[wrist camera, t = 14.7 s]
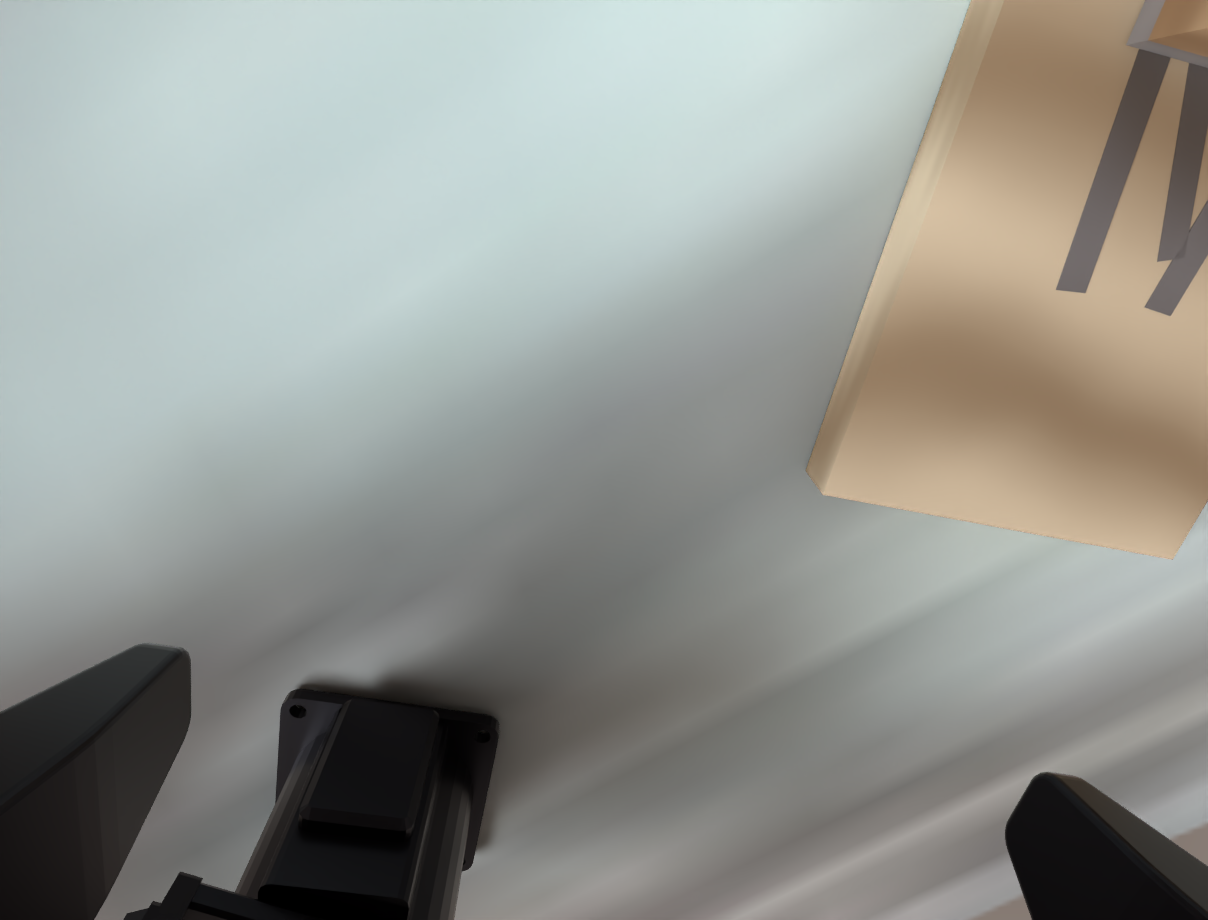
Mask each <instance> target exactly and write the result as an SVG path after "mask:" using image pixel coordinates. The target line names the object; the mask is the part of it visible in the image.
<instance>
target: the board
mask: <svg viewBox="0 0 1208 920" xmlns="http://www.w3.org/2000/svg"><path fill="white" fill-rule="evenodd" d="M1144 2H1145V0H971V2H970V5H969V8H968V11H967V13H966V16H965V19H964V22H963V25H962V28H961V30H960V33H959V36H958V39H957V42H956V45H955V47H954V50H953V53H952V56H951V59H950V62H949V65H948V67H947V70H946V73H945V76H944V79H943V82H942V84H941V87H940V90H939V93H938V96H937V99H936V101H935V104H934V107H933V110H932V113H931V116H930V119H929V121H928V124H927V127H926V130H925V133H924V136H923V138H922V141H921V144H920V147H919V150H918V153H917V155H916V158H915V161H914V164H913V167H912V170H911V173H910V175H909V178H908V181H907V184H906V187H905V190H904V192H903V195H902V198H901V201H900V204H899V207H898V209H897V212H896V215H895V218H894V221H893V224H892V227H891V229H890V232H889V235H888V238H887V241H886V244H885V246H884V249H883V252H882V255H881V258H880V261H879V264H878V266H877V269H876V272H875V275H874V278H873V281H872V283H871V286H870V289H869V292H868V295H867V298H866V300H865V303H864V306H863V309H862V312H861V315H860V318H859V320H858V323H857V326H856V329H855V332H854V335H853V337H852V340H851V343H850V346H849V349H848V352H847V354H846V357H845V360H844V363H843V366H842V369H841V372H840V374H839V377H838V380H837V383H836V386H835V389H834V391H833V394H832V397H831V400H830V403H829V406H828V408H827V411H826V414H825V417H824V420H823V423H822V426H821V428H820V431H819V434H818V437H817V440H816V443H815V445H814V448H813V451H812V454H811V457H810V460H809V462H808V465H807V468H806V472H807V474H808V475H809V476H810V478H811V479H812V480H813V482H814V483H815V485H816V486H817V487H818V489H819V490H820V491H821V493H822V494H823V495H827V496H832V497H838V498H843V499H848V500H854V501H859V502H865V503H870V504H875V505H881V506H886V507H891V508H897V509H902V510H908V511H913V512H918V513H924V514H929V515H935V516H940V517H945V518H951V519H956V520H962V521H967V522H972V523H978V524H983V525H988V526H994V527H999V528H1005V529H1010V530H1015V531H1021V532H1026V533H1032V534H1037V535H1042V536H1048V537H1053V538H1058V539H1064V540H1069V541H1075V542H1080V543H1085V544H1091V545H1096V546H1102V547H1107V548H1112V549H1118V550H1123V551H1128V552H1134V553H1139V554H1145V555H1150V556H1155V557H1161V558H1166V559H1172V560H1173V558H1174V556H1175V555H1176V553H1177V551H1178V550H1179V548H1180V546H1181V545H1182V543H1183V541H1184V540H1185V538H1186V536H1187V535H1188V533H1189V531H1190V530H1191V528H1192V526H1193V525H1194V523H1195V521H1196V519H1197V518H1198V516H1199V514H1200V513H1201V511H1202V509H1203V508H1204V506H1205V504H1206V503H1207V501H1208V68H1206V67H1202V66H1199V65H1195V64H1192V63H1188V62H1185V61H1181V60H1177V59H1174V58H1170V57H1167V56H1163V55H1160V54H1156V53H1153V52H1149V51H1145V50H1142V49H1138V48H1135V47H1131V46H1128V45H1126V44H1127V41H1128V39H1129V37H1130V34H1131V32H1132V30H1133V27H1134V25H1135V23H1136V20H1137V18H1138V16H1139V13H1140V11H1141V9H1142V7H1143V4H1144Z"/></svg>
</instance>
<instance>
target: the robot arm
mask: <svg viewBox="0 0 1208 920" xmlns="http://www.w3.org/2000/svg"><path fill="white" fill-rule="evenodd" d="M296 705H301V706H303V707H304V708H305V709H301V708H298V707H297V706H296ZM190 718H191V660H190V656H189V653H188V652H187V651H186V650H185V649H183V648H181V647H174V646H167V645H160V644H153V643H142V644H138V645H135V646H133V647H131V648H129V649H127V650H125V651H123V652H121V653H119V654H117V655H115V656H113V657H111V658H109V659H107V660H104V661H102V662H100V663H98V664H96V665H94V666H92V667H90V668H88V669H86V670H84V671H82V672H80V673H78V674H76V675H74V676H72V677H70V678H68V679H66V680H64V681H62V682H60V683H58V684H56V685H54V686H52V687H50V688H48V689H46V690H44V691H42V692H39V693H37V694H35V695H33V696H31V697H29V698H27V699H25V700H23V701H21V702H19V703H17V704H15V705H13V706H11V707H9V708H7V709H5V710H3V711H1V712H0V920H94V919H95V917H96V915H97V913H98V912H99V910H100V908H101V907H102V905H103V903H104V901H105V900H106V898H107V896H108V894H109V892H110V890H111V888H112V886H113V884H114V882H115V880H116V878H117V876H118V875H119V873H120V871H121V869H122V866H123V864H124V862H125V860H126V858H127V856H128V854H129V852H130V850H131V848H132V846H133V844H134V842H135V840H136V838H137V836H138V834H139V832H140V830H141V827H142V825H143V823H144V821H145V819H146V817H147V815H148V813H149V811H150V809H151V807H152V805H153V803H154V801H155V799H156V797H157V795H158V793H159V791H160V788H161V786H162V784H163V782H164V780H165V778H166V776H167V774H168V772H169V770H170V768H171V766H172V764H173V762H174V760H175V758H176V756H177V754H178V751H179V749H180V747H181V745H182V743H183V741H184V739H185V736H186V734H187V731H188V727H189V724H190ZM479 730H484V731H487V732H488V733H483V734H482V733H480V732H478V731H479ZM499 731H500V726H499V723H498V721H497V720H496V719H495V718H493V717H492V716H488V715H484V714H477V713H470V712H463V711H455V710H448V709H441V708H434V707H427V706H420V705H413V704H406V703H398V702H391V701H384V700H377V699H370V698H363V697H356V696H348V695H341V694H334V693H327V692H320V691H313V690H306V689H296V690H294V691H291V692H290V693H289V694H288V695H287V697H286V698H285V700H284V702H283V704H282V707H281V713H280V731H279V749H278V767H277V785H276V803H275V806H274V808H273V811H272V813H271V815H270V817H269V819H268V821H267V824H266V826H265V828H264V830H263V832H262V834H261V837H260V839H259V841H258V843H257V845H256V847H255V850H254V852H253V854H252V856H251V858H250V860H249V863H248V865H247V867H246V869H245V871H244V873H243V876H242V878H241V880H240V882H239V884H238V886H237V889H236V891H235V892H231V891H228V890H225V889H221V888H218V887H214V886H211V885H208V884H204V883H201V882H202V879H203V878H200V877H197V876H194V875H190V874H187V873H183V872H180V873H179V874H178V876H177V878H176V879H175V881H174V883H173V884H172V886H171V888H170V890H169V891H168V893H167V895H166V896H165V898H164V900H163V901H162V903H159V902H155V901H153V902H152V903H151V905H150V907H149V908H147V909H143V910H139V911H135V912H131V913H127V915H126V916H125V918H124V920H454V917H455V910H456V904H457V898H458V891H459V885H460V879H461V872H462V871H465V870H468V869H469V868H470V867H471V866H472V864H473V860H474V855H475V850H476V845H477V840H478V835H479V831H480V826H481V821H482V816H483V811H484V806H485V802H486V797H487V792H488V787H489V782H490V777H491V772H492V768H493V763H494V758H495V753H496V748H497V743H498V738H499ZM1005 840H1006V846H1007V849H1008V852H1009V855H1010V858H1011V861H1012V864H1013V867H1014V870H1015V872H1016V875H1017V878H1018V881H1019V884H1020V887H1021V890H1022V893H1023V895H1024V898H1025V901H1026V904H1027V907H1028V910H1029V913H1030V915H1031V918H1032V920H1208V866H1206V865H1205V864H1204V863H1202V862H1201V861H1199V860H1198V859H1196V858H1195V857H1194V856H1192V855H1191V854H1189V853H1188V852H1187V851H1185V850H1184V849H1182V848H1181V847H1179V846H1178V845H1176V844H1175V843H1174V842H1172V841H1171V840H1169V839H1168V838H1167V837H1165V836H1164V835H1162V834H1161V833H1159V832H1158V831H1157V830H1155V829H1154V828H1152V827H1151V826H1149V825H1148V824H1147V823H1145V822H1144V821H1142V820H1141V819H1139V818H1138V817H1137V816H1135V815H1134V814H1132V813H1131V812H1129V811H1128V810H1127V809H1125V808H1124V807H1122V806H1121V805H1119V804H1118V803H1117V802H1115V801H1114V800H1112V799H1111V798H1109V797H1108V796H1107V795H1105V794H1104V793H1102V792H1101V791H1099V790H1098V789H1097V788H1095V787H1094V786H1092V785H1091V784H1089V783H1088V782H1086V781H1085V780H1083V779H1081V778H1079V777H1076V776H1072V775H1066V774H1059V773H1052V772H1043V773H1040V774H1038V775H1036V776H1035V777H1034V778H1033V779H1032V780H1031V782H1030V784H1029V785H1028V787H1027V789H1026V790H1025V792H1024V794H1023V796H1022V797H1021V799H1020V801H1019V802H1018V804H1017V806H1016V807H1015V809H1014V811H1013V813H1012V814H1011V816H1010V818H1009V819H1008V822H1007V824H1006V829H1005Z"/></svg>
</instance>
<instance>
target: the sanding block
mask: <svg viewBox="0 0 1208 920" xmlns="http://www.w3.org/2000/svg"><path fill="white" fill-rule="evenodd" d="M1126 45H1128V46H1131V47H1135V48H1138V49H1142V50H1145V51H1149V52H1153V53H1156V54H1160V55H1163V56H1167V57H1170V58H1174V59H1177V60H1181V61H1185V62H1188V63H1192V64H1195V65H1199V66H1202V67H1206V68H1208V0H1145V2H1144V4H1143V7H1142V9H1141V11H1140V13H1139V16H1138V18H1137V20H1136V23H1135V25H1134V27H1133V30H1132V32H1131V34H1130V37H1129V39H1128V41H1127V44H1126Z"/></svg>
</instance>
